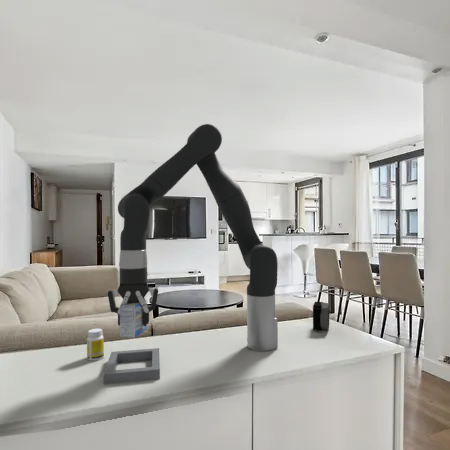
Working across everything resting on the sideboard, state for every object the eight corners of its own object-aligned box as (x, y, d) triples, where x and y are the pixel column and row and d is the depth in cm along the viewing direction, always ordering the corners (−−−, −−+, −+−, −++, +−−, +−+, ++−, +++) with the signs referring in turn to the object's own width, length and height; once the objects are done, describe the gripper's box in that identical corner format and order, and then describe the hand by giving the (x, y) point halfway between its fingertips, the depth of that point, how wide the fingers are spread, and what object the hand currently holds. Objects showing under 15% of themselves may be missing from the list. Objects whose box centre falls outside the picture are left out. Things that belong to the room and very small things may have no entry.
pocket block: (159, 356, 105) (159, 348, 105) (159, 378, 89) (159, 369, 89) (111, 360, 102) (111, 351, 102) (103, 384, 86) (103, 374, 86)
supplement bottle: (107, 356, 106) (106, 328, 106) (96, 361, 101) (96, 333, 101) (94, 354, 107) (94, 327, 107) (83, 359, 103) (83, 331, 103)
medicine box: (134, 338, 92) (134, 306, 92) (119, 337, 92) (119, 305, 92) (146, 329, 99) (147, 299, 99) (132, 328, 100) (132, 299, 100)
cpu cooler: (328, 334, 125) (327, 306, 125) (312, 332, 127) (311, 305, 127) (330, 326, 135) (329, 300, 135) (315, 324, 137) (314, 299, 137)
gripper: (159, 263, 101) (159, 321, 101) (108, 265, 98) (108, 324, 98) (159, 266, 94) (159, 328, 94) (104, 268, 91) (104, 331, 91)
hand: (133, 325), depth 96 cm, fingers closed on medicine box, 5 cm apart
